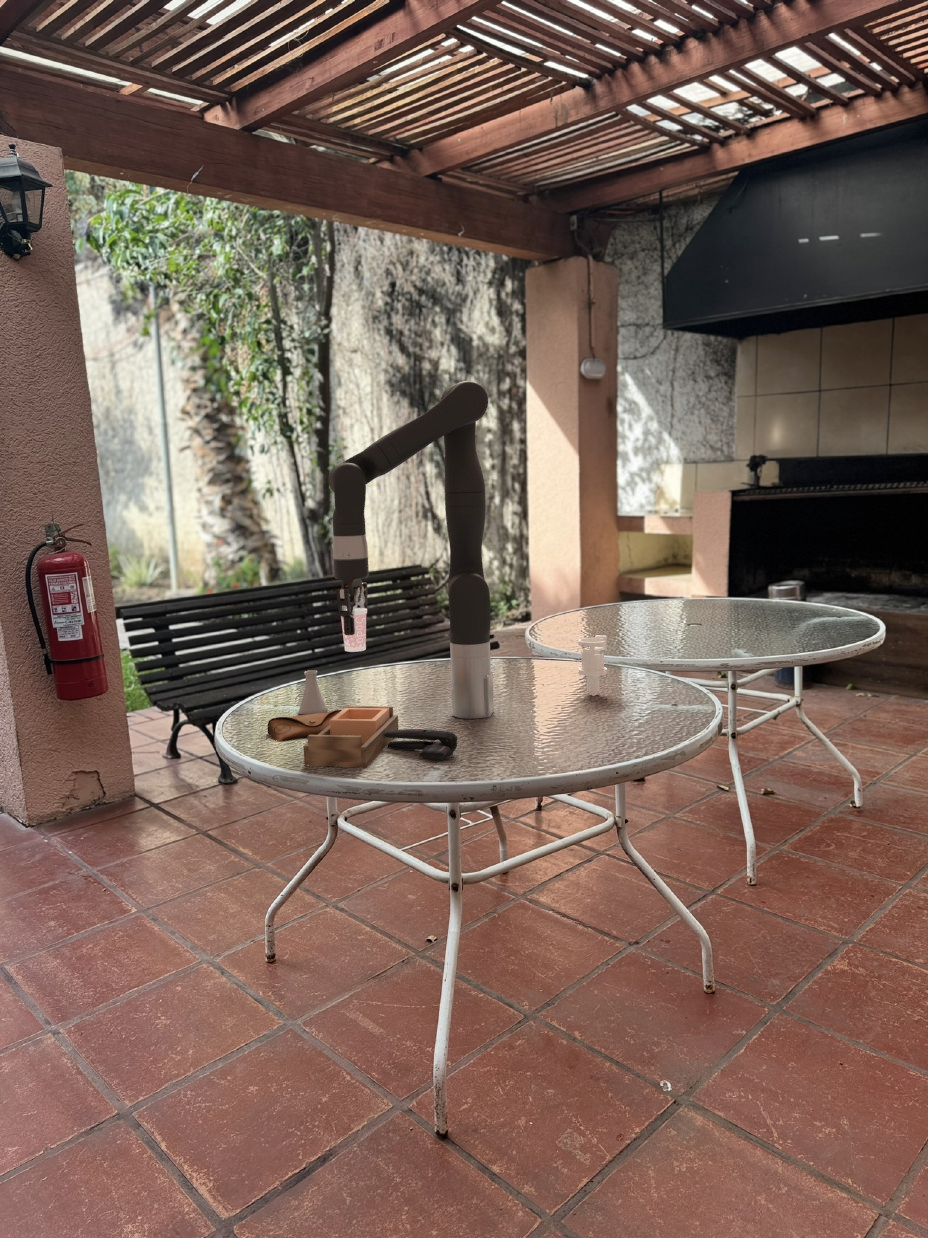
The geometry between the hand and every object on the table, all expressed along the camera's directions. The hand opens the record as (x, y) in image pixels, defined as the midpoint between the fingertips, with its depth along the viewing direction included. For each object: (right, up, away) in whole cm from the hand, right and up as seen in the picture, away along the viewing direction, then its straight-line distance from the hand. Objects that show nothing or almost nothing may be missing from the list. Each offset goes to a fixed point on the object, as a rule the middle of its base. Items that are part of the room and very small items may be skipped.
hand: (354, 632), depth 197 cm
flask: (-12, -20, +18) cm, 30 cm away
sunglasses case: (-9, -23, +1) cm, 25 cm away
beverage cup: (0, -4, +1) cm, 4 cm away
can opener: (+15, -24, -17) cm, 34 cm away
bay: (+2, -24, -13) cm, 27 cm away
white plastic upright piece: (+56, -16, +27) cm, 65 cm away
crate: (+2, -22, -9) cm, 24 cm away
